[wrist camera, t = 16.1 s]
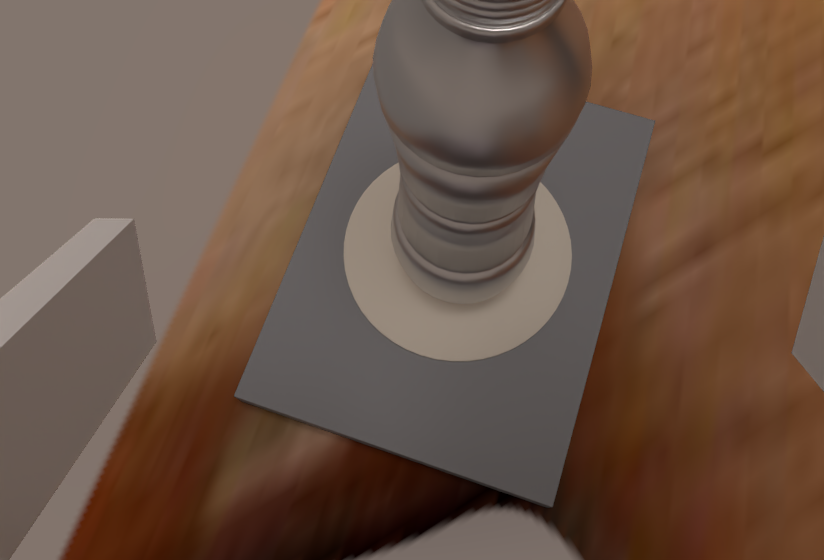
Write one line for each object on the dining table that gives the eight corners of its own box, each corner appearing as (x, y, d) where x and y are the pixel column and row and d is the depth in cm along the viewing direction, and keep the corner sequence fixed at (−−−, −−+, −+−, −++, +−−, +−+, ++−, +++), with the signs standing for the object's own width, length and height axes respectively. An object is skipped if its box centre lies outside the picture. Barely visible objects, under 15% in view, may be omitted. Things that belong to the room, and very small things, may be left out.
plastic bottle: (403, 325, 33) (373, 69, 15) (384, 194, 36) (337, -177, 17) (539, 305, 34) (685, 27, 15) (512, 177, 36) (609, -211, 17)
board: (382, 61, 40) (380, 42, 39) (646, 135, 38) (656, 118, 37) (241, 401, 34) (232, 395, 33) (547, 507, 32) (553, 507, 31)
